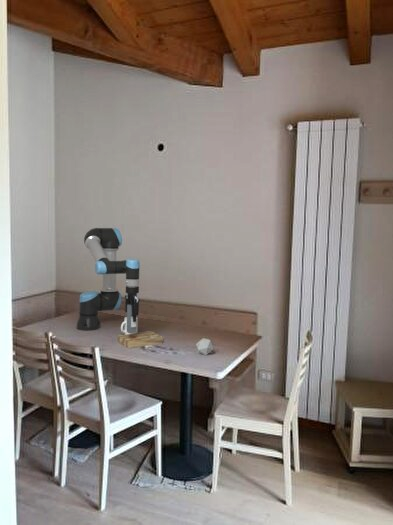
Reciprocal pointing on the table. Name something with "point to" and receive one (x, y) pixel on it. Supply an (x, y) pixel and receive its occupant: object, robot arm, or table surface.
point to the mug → (126, 326)
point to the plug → (129, 313)
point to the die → (204, 346)
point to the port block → (140, 339)
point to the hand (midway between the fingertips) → (131, 325)
